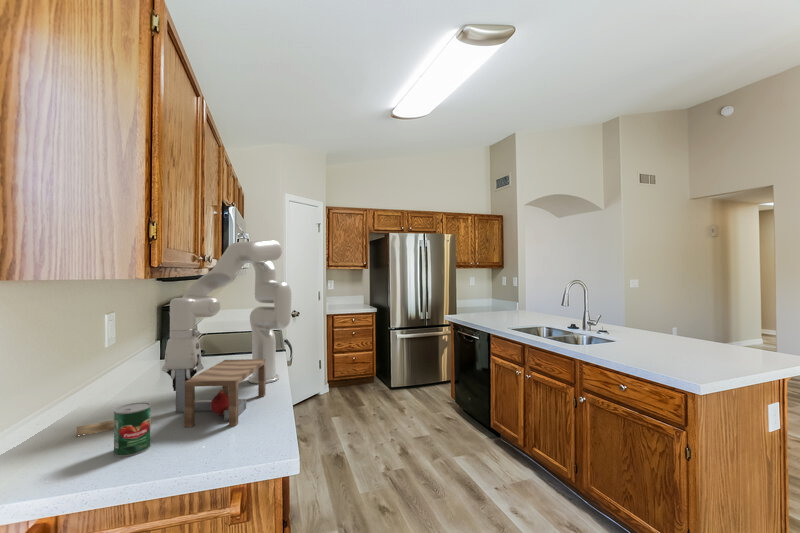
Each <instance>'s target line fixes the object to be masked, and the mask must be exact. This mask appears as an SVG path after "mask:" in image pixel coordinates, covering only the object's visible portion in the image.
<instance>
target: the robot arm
mask: <svg viewBox="0 0 800 533" xmlns="http://www.w3.org/2000/svg"><path fill="white" fill-rule="evenodd" d="M282 253H283V248H282V245H281V243H279V242H278V241H277V240H274V239H273V240H272V239H271V240H270V239H269V240H253V241H237V242H236V241H235V242H233V243H230V244H229V245H228V246H227V247H226V249H225V251H224V252H223V254H222V255H221V256H220V258H219V259H218V261H217V262H216V264H215V265H214V266H213V267H212V269H211V270H210V271H208V272H207V273H204V274H203V275H202V276H201V277H200V278H198V279H197V280H195V281H194V282H192V284H191V285H190V286H189V287H188V289H186V291H185V292H184V294H183V295H182V297H175V298H172V299H171V300H170V302H169V339H167V342H166V348H165V351H164V352H165V355H164V364H163V366H162V368H161V371H163V372H164V373H166V374H168V375H169V376H170V379H172V389H173V392H176V369H186V376H187V378H186V379H185V381H187V380H189V379H191V378H192V377H194V376H196V375H197V373H198V372H200V371H202V370H203V369H204V366H203V364H202V352H201V344H200V339H199V337H197V336H199V335H200V333H201V332H200V330H197V328H196V326H197V325H196V318H212V317H214V316H216V315H217V314H218V313H219V311H220V310H221V303H220V301H219V300H218V299H217V298H216V297H214V296H210V295H209V294H210V293H212V292H214V291H215V290H217V289H221V288H222V287H225V286H227V285H229V284H231V283H233V282H234V281H235V280H236V278H237V276H238V274H239V273H240V271H241V269H242V268H243V267H244V265H245V264H252V266H253V269H254V273H255V274H254V276H255V277H254V280H255V281H254V298H255V300H256V302H258V303H260V304H273V306H268V305H267V306H264V305H263V306H258V307H254V308H253V309H252V311H251V312H250V314H249V322H250V323H249V324H250V328H251V336H252V338H251V339H252V341H251V342H252V343H251V344H252V345H251V346H252V349H251V351H252V352H251V353H252V354H251V355H252V356H251V358H252V359H266V384H269V383H272V382H276V381H278V380H279V379H280V375H279V374H278V373H277V372H276V370H277V369H276V368H277V367H276V365H277V364H276V363H277V362H276V361H277V360H276V358H277V357H276V356H277V355H276V354H277V353H276V352H277V351H276V347H277V346H276V344H277V343H276V341H277V340H276V334H275V331H274V330H284V329H286V328H287V327H288V326H289V324H290V323H291V318H292V316H291V315H292V291H291V290H292V289H291V287H290V285H289V284H288V282H287V283H286V282H285V281H277V272H276V266H275V265H274V263H273V261H274V262H275V261H277V260H278V259H280V258H281V256H282ZM247 380H248V382H249V383H251V384H258V369H257V370H256V371H254V372H253V373H252V374H251V375H250V376H248V377H247Z"/></svg>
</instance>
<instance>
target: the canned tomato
mask: <svg viewBox="0 0 800 533" xmlns="http://www.w3.org/2000/svg"><path fill="white" fill-rule="evenodd" d="M151 406H152V403H150V402H146V401H145V402H141V401H140V402H133V403H129V404H123V405H121V406H119V407H116V408H115V409H114V410H113V420H114V430H113V456H115V457H117V458H123V457H124V458H125V457H126V458H127V457H131V456H135V455H139V454H142V453H145V452H146V451H148V450H150V448H151V442H152V440H151V439H152V438H151V434H152V432H151V429H152V428H151V423H152V422H151V420H152V419H151V418H152V417H151V415H152V414H151V411H152V407H151Z"/></svg>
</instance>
